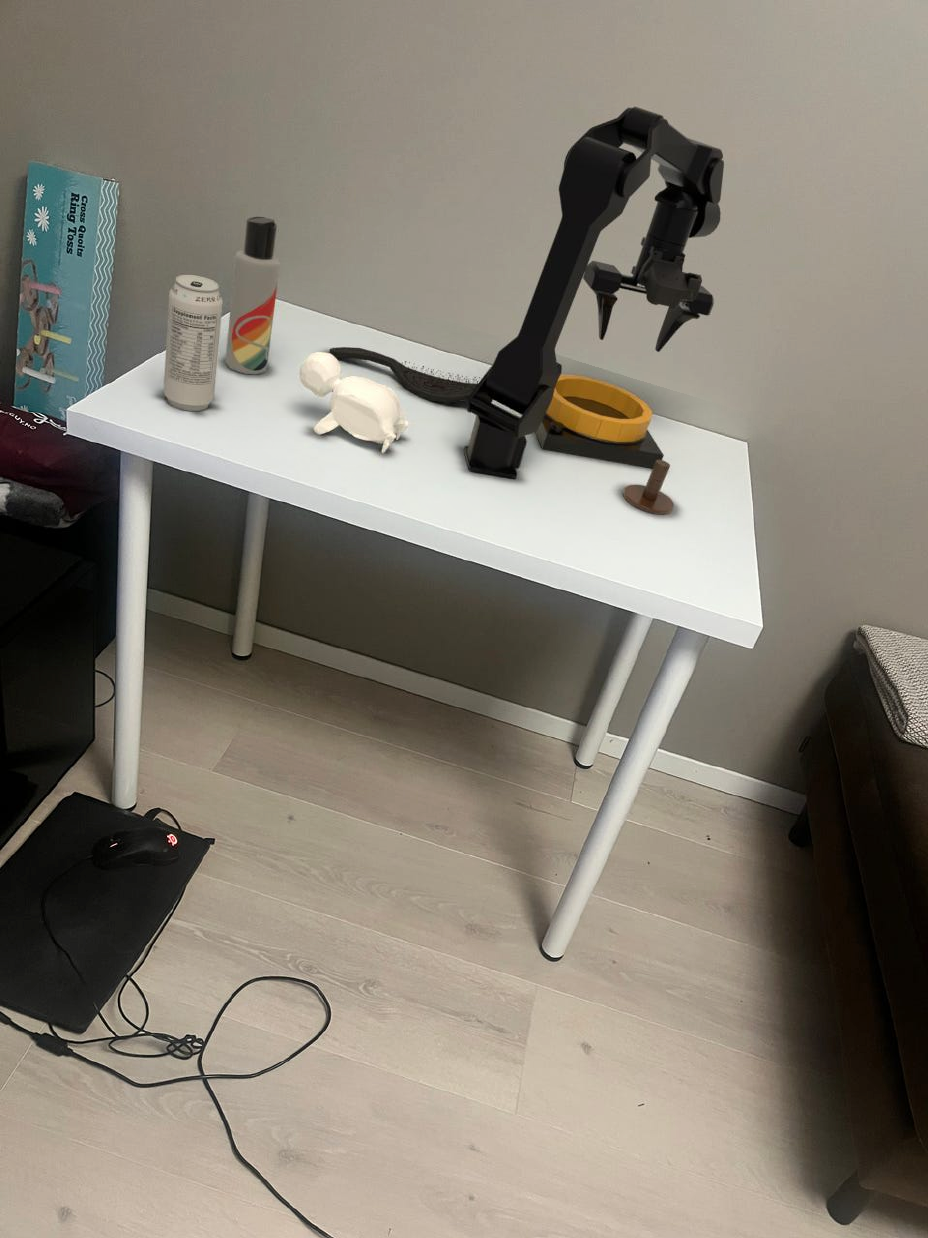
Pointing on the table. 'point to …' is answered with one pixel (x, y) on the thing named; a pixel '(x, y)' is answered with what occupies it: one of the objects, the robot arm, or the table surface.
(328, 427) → the white turtle figurine
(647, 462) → the hot plate
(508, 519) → the table surface
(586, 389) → the ring
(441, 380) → the hairbrush
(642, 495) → the peg
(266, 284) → the lotion bottle
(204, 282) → the energy drink can
